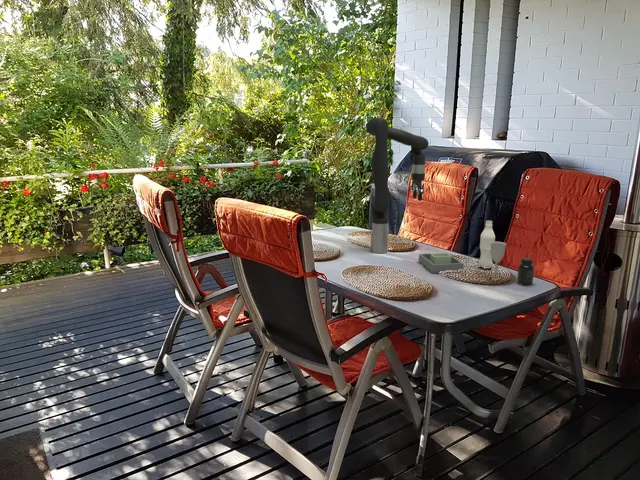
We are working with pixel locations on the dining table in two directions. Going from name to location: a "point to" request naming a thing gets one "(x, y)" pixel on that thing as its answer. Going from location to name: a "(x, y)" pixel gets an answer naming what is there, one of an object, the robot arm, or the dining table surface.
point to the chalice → (497, 253)
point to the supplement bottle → (525, 272)
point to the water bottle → (486, 245)
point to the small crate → (440, 258)
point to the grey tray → (436, 268)
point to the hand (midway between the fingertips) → (417, 199)
